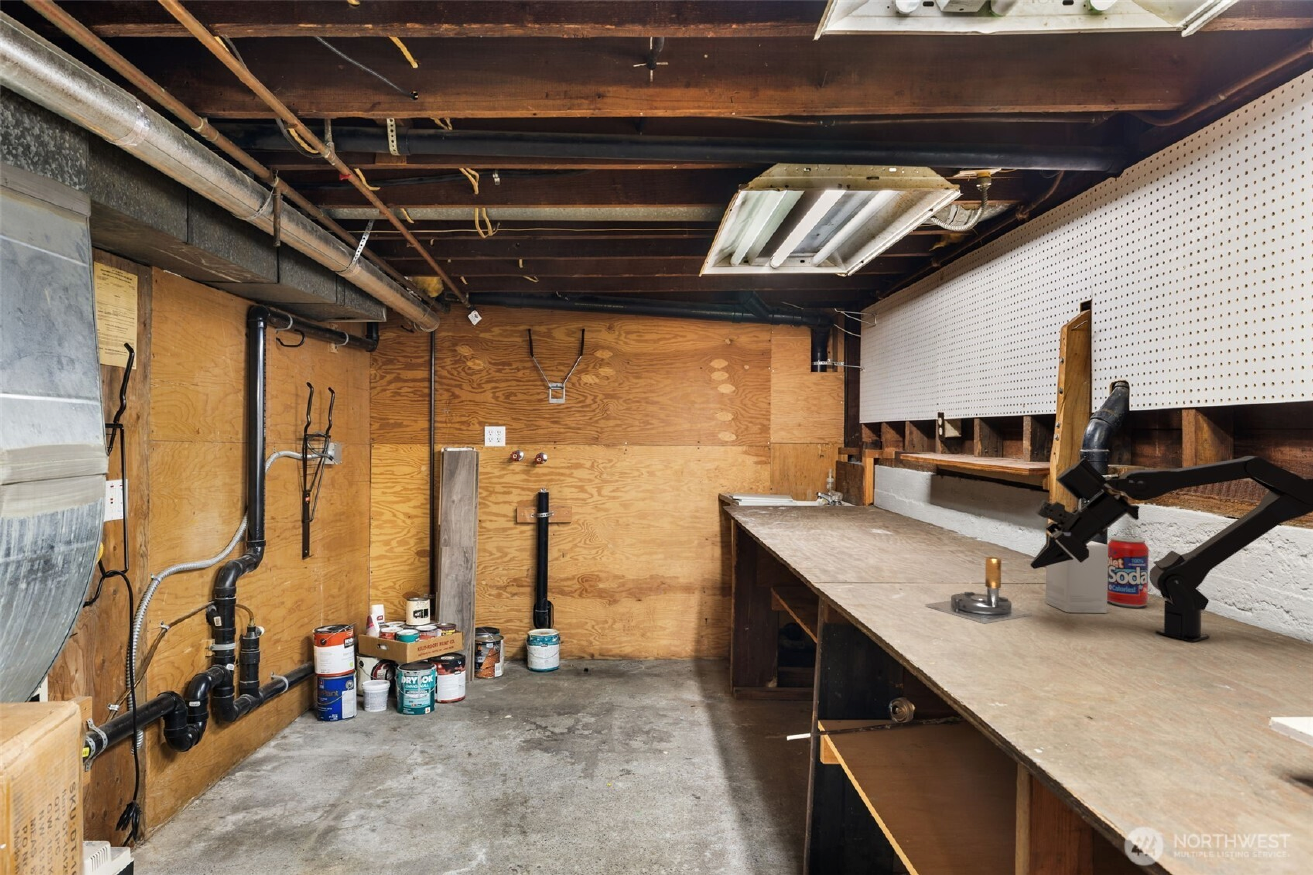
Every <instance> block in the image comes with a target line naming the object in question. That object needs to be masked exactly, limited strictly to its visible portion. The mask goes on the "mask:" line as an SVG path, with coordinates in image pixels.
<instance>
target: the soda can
mask: <svg viewBox="0 0 1313 875" xmlns="http://www.w3.org/2000/svg"><path fill="white" fill-rule="evenodd" d="M1106 545H1108V579H1107V602H1110V603H1111V604H1113V605H1115V606H1118V607H1124V608H1129V609H1130V608H1132V609H1138V608H1142V607H1144V606H1146V605H1147V604H1148V600H1149V599H1148V598H1149V597H1148V596H1149V559H1150V558H1149V551H1150V550H1149V547H1148V545H1147V544H1146V540H1145V539H1141V538H1135V537H1127V536H1126V537H1124V536H1115V537H1114V536H1113V537H1112V536H1111V537H1110V541H1109V542H1108V543H1107V544H1106Z"/></svg>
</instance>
